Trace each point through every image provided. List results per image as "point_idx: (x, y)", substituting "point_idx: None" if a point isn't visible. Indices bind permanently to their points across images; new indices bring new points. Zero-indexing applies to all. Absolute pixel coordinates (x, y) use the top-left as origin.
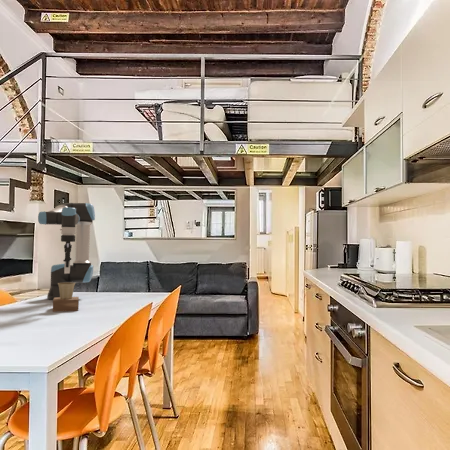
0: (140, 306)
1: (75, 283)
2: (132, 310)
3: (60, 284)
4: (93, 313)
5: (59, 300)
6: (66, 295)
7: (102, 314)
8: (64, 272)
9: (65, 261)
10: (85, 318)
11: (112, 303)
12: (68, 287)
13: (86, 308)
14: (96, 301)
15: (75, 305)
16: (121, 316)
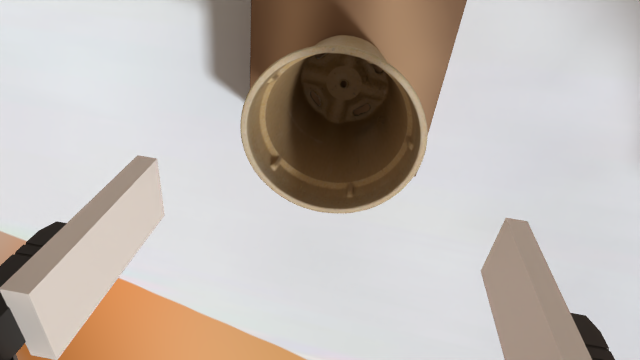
0: (296, 353)
1: (306, 207)
2: (200, 306)
3: (276, 68)
4: None
5: (251, 17)
6: (290, 87)
7: None
8: (128, 164)
9: (34, 305)
10: (10, 107)
11: (449, 304)
12: (266, 129)
13: None
14: (588, 267)
15: None
16: None
